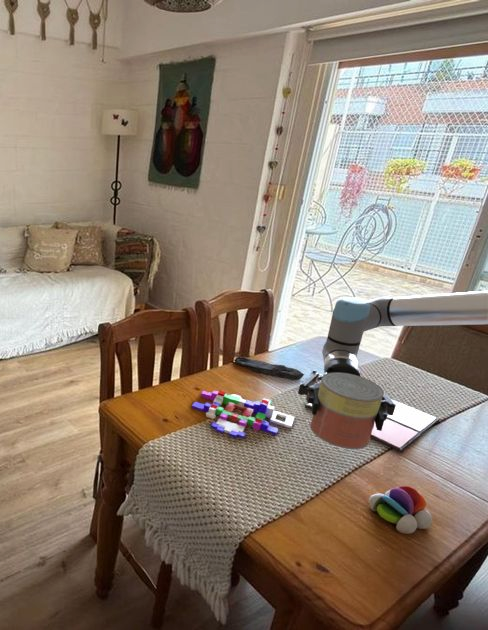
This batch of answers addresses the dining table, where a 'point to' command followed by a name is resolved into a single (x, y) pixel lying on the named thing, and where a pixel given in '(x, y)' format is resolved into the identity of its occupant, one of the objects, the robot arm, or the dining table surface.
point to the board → (401, 426)
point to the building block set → (245, 419)
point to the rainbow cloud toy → (402, 509)
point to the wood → (268, 368)
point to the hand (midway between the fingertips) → (347, 416)
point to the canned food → (346, 410)
